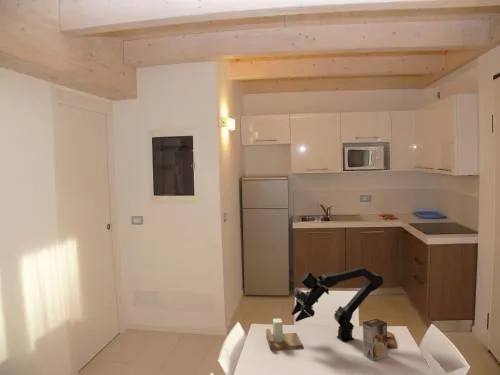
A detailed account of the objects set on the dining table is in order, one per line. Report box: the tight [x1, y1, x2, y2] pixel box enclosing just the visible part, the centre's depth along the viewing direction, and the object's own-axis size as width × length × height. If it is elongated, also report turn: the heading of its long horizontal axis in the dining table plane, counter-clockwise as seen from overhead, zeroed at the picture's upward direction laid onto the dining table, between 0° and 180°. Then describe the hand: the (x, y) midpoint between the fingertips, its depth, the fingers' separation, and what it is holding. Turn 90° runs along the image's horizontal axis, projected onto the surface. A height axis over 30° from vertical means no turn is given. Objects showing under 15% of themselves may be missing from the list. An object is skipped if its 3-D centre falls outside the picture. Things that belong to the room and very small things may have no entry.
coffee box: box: [362, 318, 388, 362], centre depth 179 cm, size 9×6×16 cm
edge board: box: [265, 328, 304, 351], centre depth 196 cm, size 16×14×4 cm
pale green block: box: [272, 318, 284, 343], centre depth 195 cm, size 4×5×10 cm
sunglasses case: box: [387, 330, 398, 350], centre depth 196 cm, size 18×7×7 cm, turn 168°
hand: (293, 317), depth 195 cm, fingers open, 9 cm apart
